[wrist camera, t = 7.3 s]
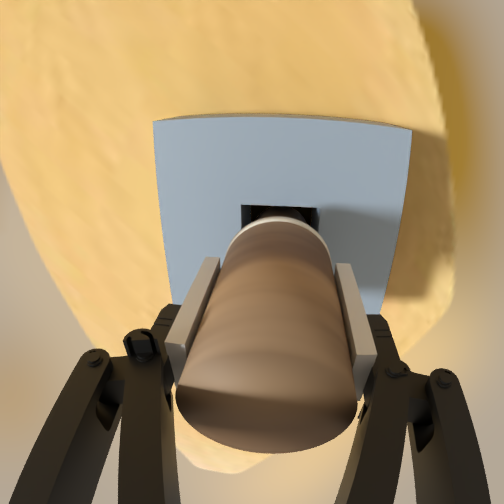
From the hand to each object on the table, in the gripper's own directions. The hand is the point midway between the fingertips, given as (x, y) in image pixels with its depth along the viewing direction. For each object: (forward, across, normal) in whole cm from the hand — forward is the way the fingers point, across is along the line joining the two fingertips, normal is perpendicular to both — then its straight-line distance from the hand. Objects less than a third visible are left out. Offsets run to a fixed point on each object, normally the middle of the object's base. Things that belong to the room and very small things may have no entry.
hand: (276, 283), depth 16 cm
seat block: (+11, 0, 0) cm, 11 cm away
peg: (+7, 0, 0) cm, 7 cm away
